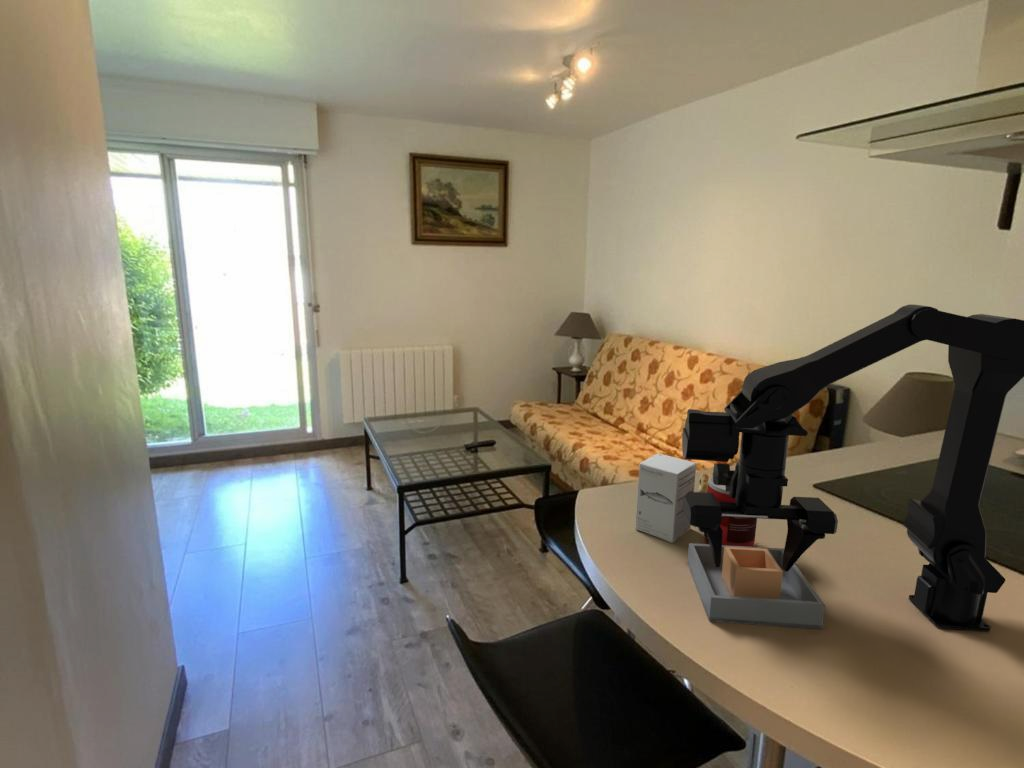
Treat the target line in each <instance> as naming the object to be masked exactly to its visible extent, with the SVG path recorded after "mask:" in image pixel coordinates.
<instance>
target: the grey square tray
mask: <svg viewBox="0 0 1024 768" xmlns="http://www.w3.org/2000/svg"><path fill="white" fill-rule="evenodd" d="M724 547H742V548H761V549H768V551H769V552H770V554H771V555H772V557H773V558H774V559H775V561H776V562H777V564H778V565H779V567H780V568H781V569H782V571H783V576H782V585H781V593H780V599H768V598H752V597H737V596H730V594H729V592H728V590H727V588H726V586H725V584H724V582H723V580H722V578H721V576H722V566H723V555H724ZM687 550H688V552H687V553H688V554H687V566H688V569H689V571H690V574H691V577H692V579H693V582H694V585H695V587H696V590H697V593H698V596H699V598H700V601H701V603H702V606H703V608H704V611H705V614H706V616H707V620H708V621H709V622H714V623H715V622H716V623H717V622H718V623H727V624H728V623H729V624H730V623H733V624H743V625H756V626H757V625H758V626H759V625H760V626H771V627H785V628H786V627H787V628H799V629H802V628H803V629H813V630H814V629H815V630H822V628H823V623H824V622H823V621H824V615H825V611H826V610H825V609H826V604H825V603H824V601H823V600H822V599H821V597H820V596H819V594H818V593H817V592H816V591H815V589H814V588H813V587H812V585H811V583H810V582H809V581H808V580H807V578H806V577H805V575H804V574H803V573H802V571H801V570H800V569H799V567H798V566H797V565H796V563H795V564H794V565H793V566H792V567H791V569H790V570H789V571H788V572H787V571H784V569H783V567H782V566H783V554H784V548H782V547H781V548H779V547H762V546H761V547H758V546H754V547H746V546H728V545H722V554H721V563H720V567H716V565H715V562H714V559H713V555H712V551H711V547H710V544H706V543H688V549H687Z"/></svg>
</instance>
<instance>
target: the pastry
mask: <svg viewBox="0 0 1024 768" xmlns="http://www.w3.org/2000/svg"><path fill="white" fill-rule="evenodd" d="M711 476H713V473H708V474H706V473H703V472H702V473H700V476H699V480H698V483H699V484H698V485H699V486H698V491H697V492H703V493H707V488H708V481H709V478H710V477H711Z"/></svg>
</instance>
